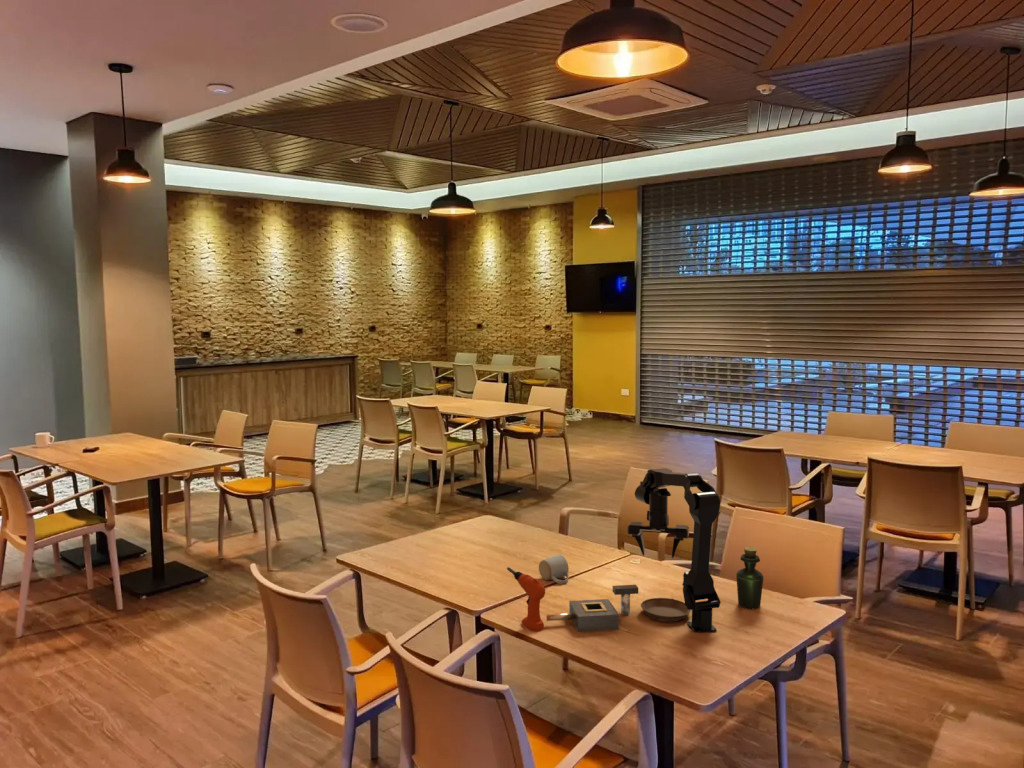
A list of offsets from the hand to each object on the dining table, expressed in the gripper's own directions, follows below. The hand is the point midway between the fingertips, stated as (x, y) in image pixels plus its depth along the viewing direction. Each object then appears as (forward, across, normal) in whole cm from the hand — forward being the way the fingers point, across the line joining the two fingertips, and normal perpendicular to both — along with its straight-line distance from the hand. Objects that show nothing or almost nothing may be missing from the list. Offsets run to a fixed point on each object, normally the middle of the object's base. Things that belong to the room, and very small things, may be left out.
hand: (658, 556), depth 234 cm
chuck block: (+14, +19, +27) cm, 36 cm away
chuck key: (+14, +8, +16) cm, 22 cm away
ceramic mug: (+14, +36, -8) cm, 39 cm away
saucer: (+14, -4, +12) cm, 19 cm away
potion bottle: (+14, -28, -2) cm, 31 cm away
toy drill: (+14, +36, +30) cm, 48 cm away
